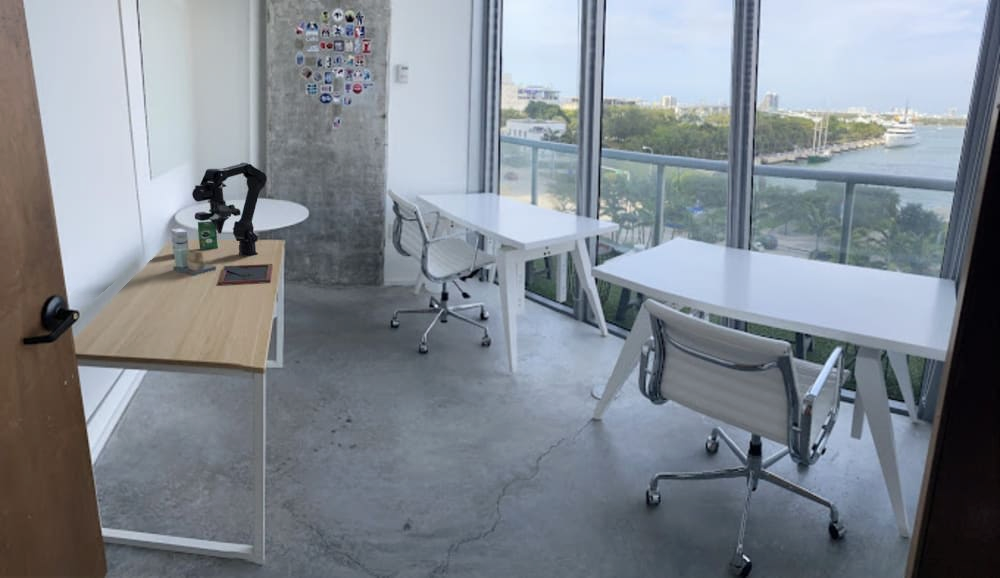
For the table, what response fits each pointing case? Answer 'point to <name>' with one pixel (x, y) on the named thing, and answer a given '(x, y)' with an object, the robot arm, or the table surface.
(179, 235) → the ink box
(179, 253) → the two-stud toy brick
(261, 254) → the table surface
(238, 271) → the picture frame
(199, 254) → the wooden button block
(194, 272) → the key base
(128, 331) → the table surface
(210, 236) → the coffee box
